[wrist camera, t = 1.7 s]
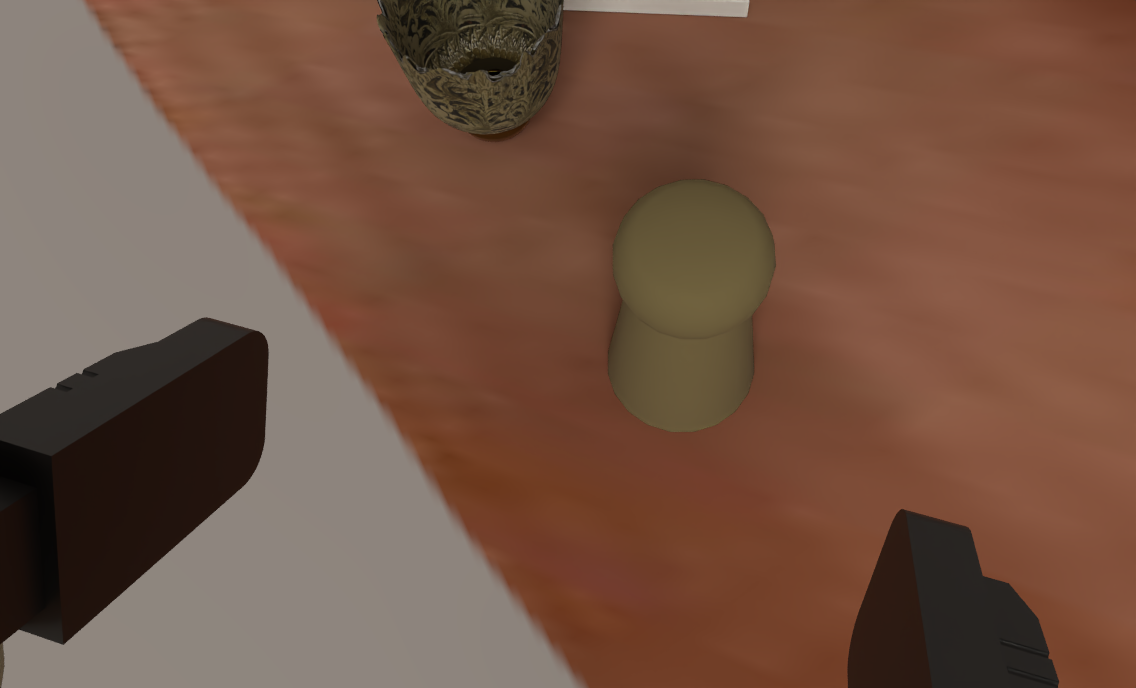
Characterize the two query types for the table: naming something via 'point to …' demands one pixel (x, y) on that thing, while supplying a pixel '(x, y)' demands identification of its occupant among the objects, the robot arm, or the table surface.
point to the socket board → (664, 6)
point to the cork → (688, 303)
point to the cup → (477, 58)
